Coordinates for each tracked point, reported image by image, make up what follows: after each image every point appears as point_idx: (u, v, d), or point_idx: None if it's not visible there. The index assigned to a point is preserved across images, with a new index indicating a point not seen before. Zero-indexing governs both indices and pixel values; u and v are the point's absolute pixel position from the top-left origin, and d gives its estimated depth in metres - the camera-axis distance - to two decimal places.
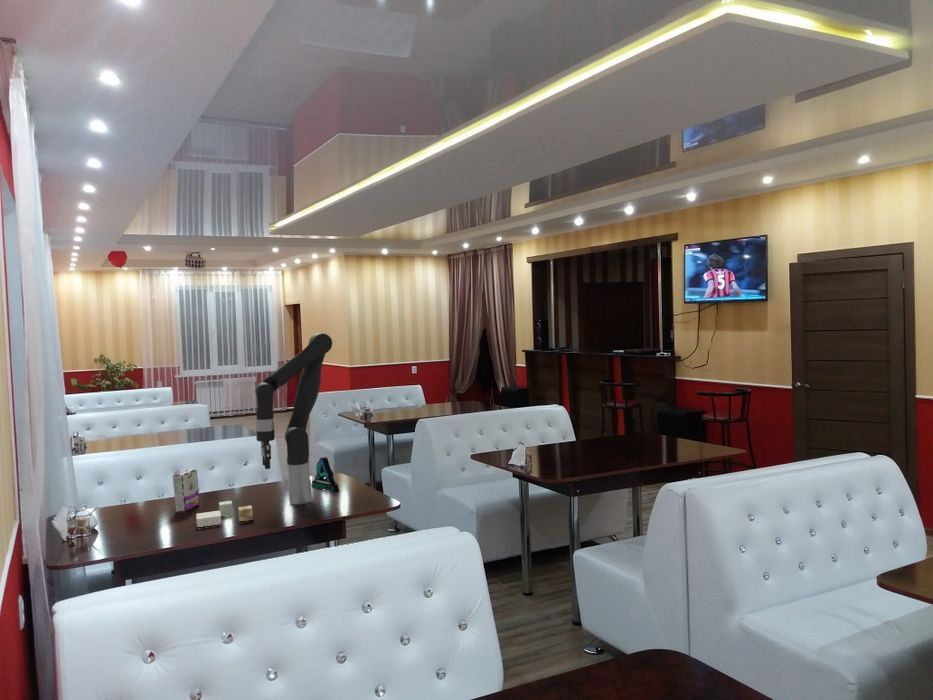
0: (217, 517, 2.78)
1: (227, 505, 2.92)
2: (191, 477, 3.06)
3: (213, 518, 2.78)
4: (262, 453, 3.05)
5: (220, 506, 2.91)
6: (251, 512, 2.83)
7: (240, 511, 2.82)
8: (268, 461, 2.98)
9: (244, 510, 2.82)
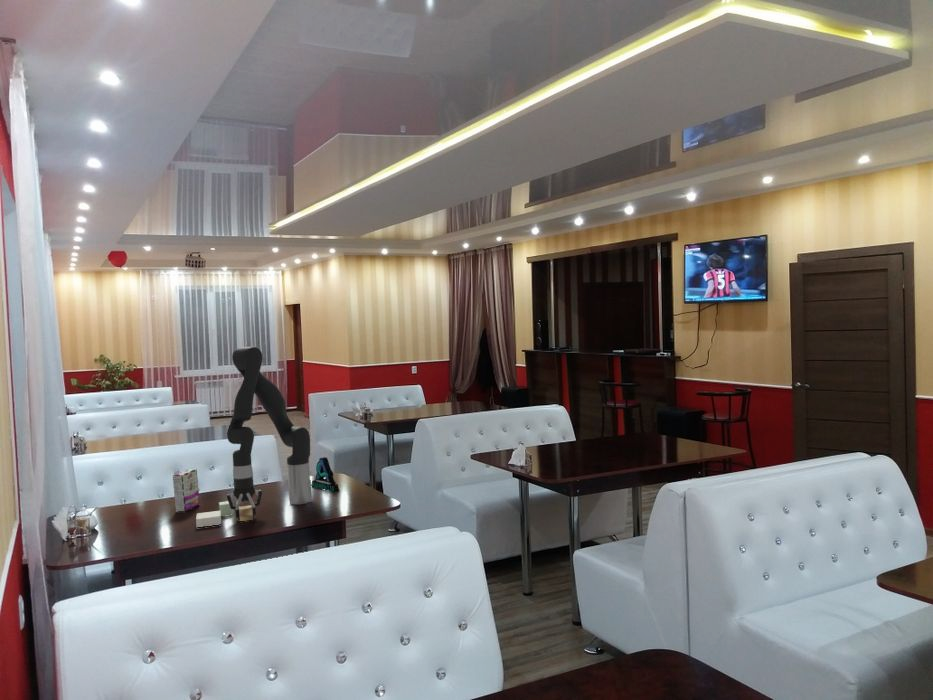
0: (216, 517, 2.78)
1: (227, 505, 2.92)
2: (191, 477, 3.06)
3: (212, 518, 2.78)
4: (239, 504, 2.83)
5: (220, 506, 2.91)
6: (251, 512, 2.83)
7: (240, 511, 2.82)
8: None
9: (244, 510, 2.82)
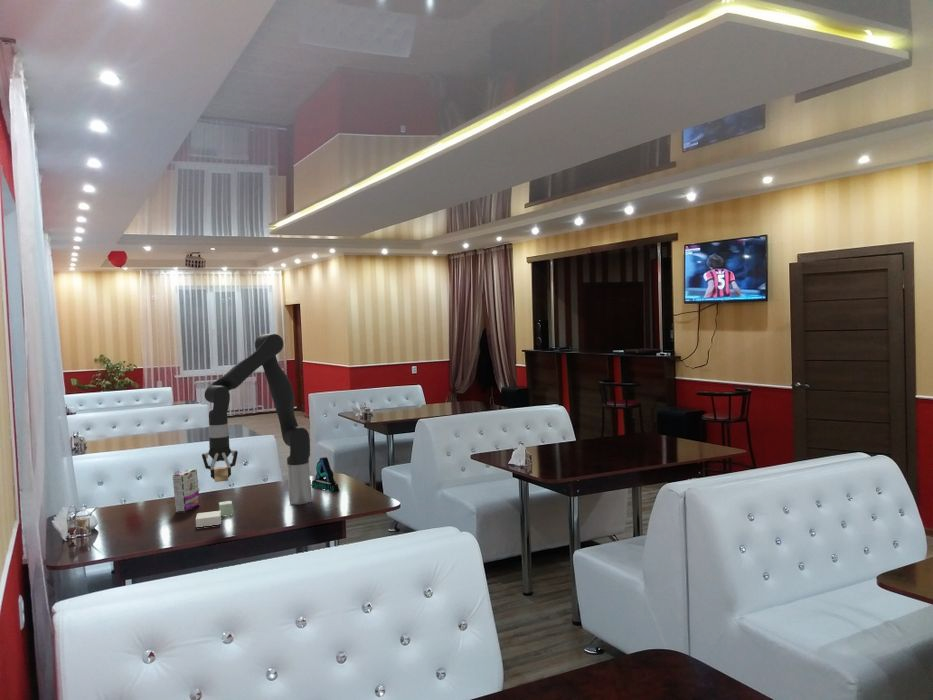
0: (216, 517, 2.78)
1: (227, 505, 2.92)
2: (191, 477, 3.06)
3: (212, 518, 2.78)
4: (214, 464, 2.79)
5: (220, 506, 2.91)
6: (226, 472, 2.80)
7: (215, 470, 2.78)
8: (230, 468, 2.83)
9: (219, 470, 2.79)
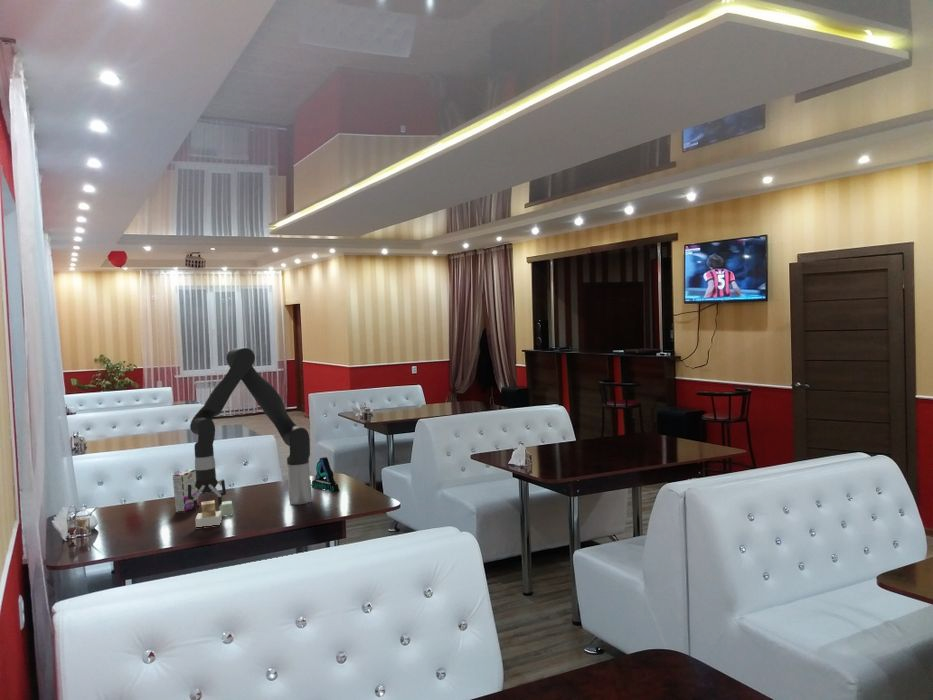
0: (216, 518, 2.78)
1: (227, 505, 2.92)
2: (191, 477, 3.06)
3: (212, 518, 2.78)
4: (198, 495, 2.79)
5: (220, 506, 2.91)
6: (214, 507, 2.80)
7: (202, 506, 2.78)
8: None
9: (206, 505, 2.79)
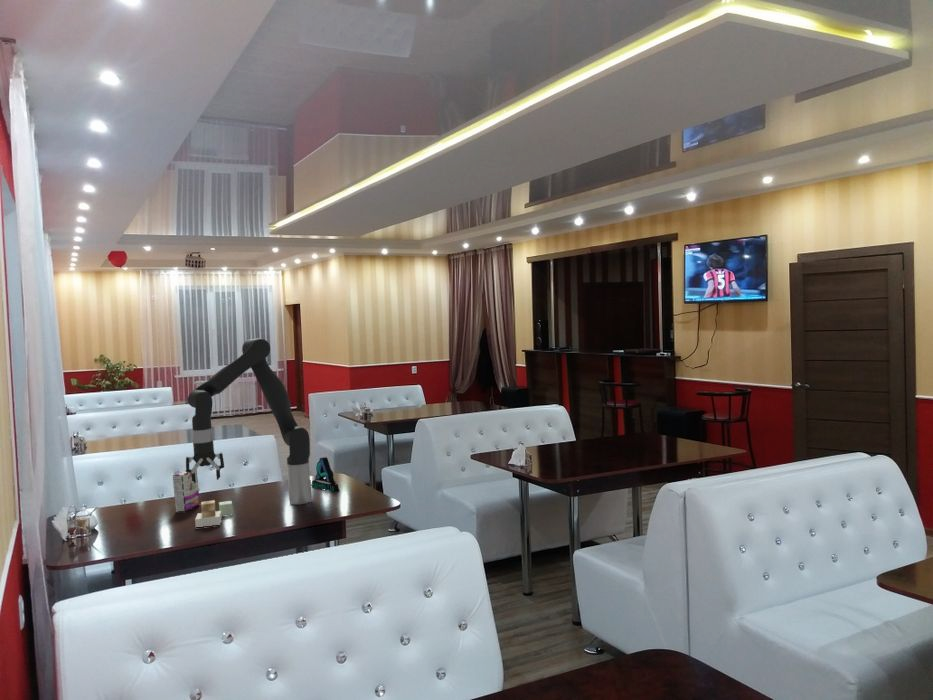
0: (216, 518, 2.78)
1: (227, 505, 2.92)
2: (191, 477, 3.06)
3: (212, 519, 2.77)
4: None
5: (220, 506, 2.91)
6: (213, 507, 2.80)
7: (202, 506, 2.78)
8: (219, 470, 2.83)
9: (206, 505, 2.79)
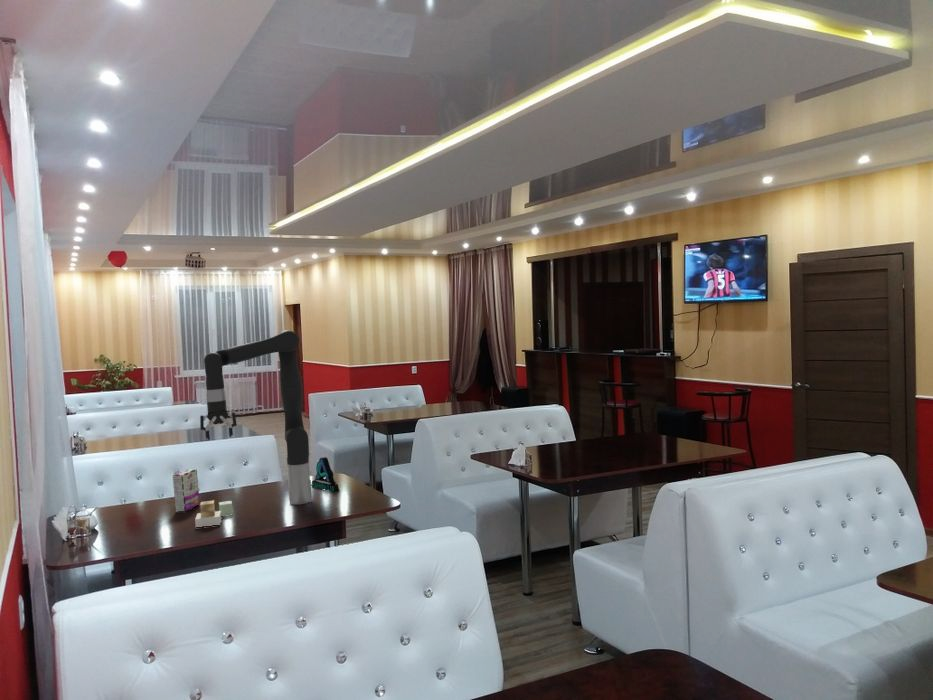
0: (216, 518, 2.78)
1: (227, 505, 2.92)
2: (191, 477, 3.06)
3: (212, 518, 2.78)
4: (210, 426, 2.93)
5: (220, 506, 2.91)
6: (212, 507, 2.79)
7: (201, 506, 2.78)
8: None
9: (205, 505, 2.79)
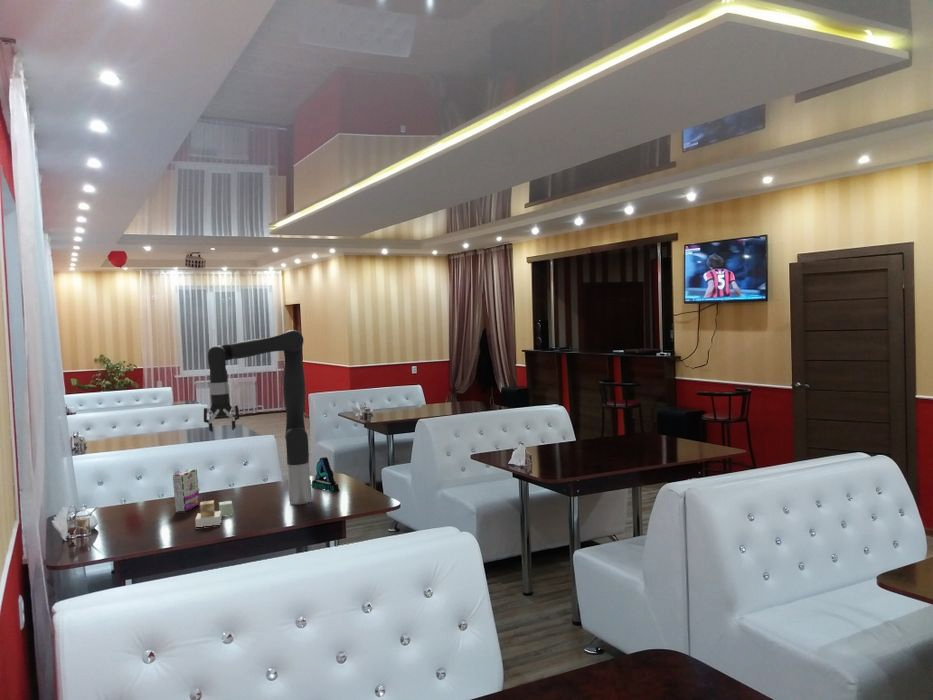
0: (216, 518, 2.78)
1: (227, 505, 2.92)
2: (191, 477, 3.06)
3: (212, 519, 2.77)
4: (213, 419, 2.97)
5: (220, 506, 2.91)
6: (212, 507, 2.80)
7: (201, 506, 2.78)
8: None
9: (205, 505, 2.79)
